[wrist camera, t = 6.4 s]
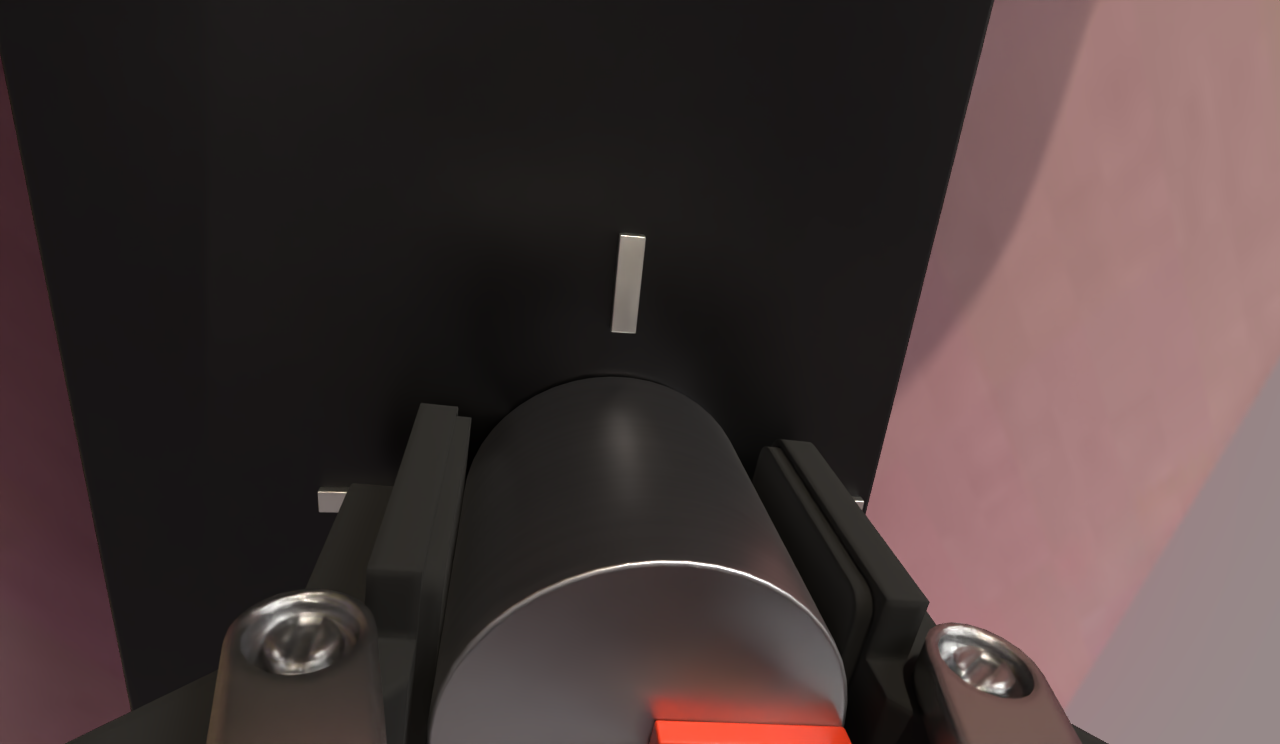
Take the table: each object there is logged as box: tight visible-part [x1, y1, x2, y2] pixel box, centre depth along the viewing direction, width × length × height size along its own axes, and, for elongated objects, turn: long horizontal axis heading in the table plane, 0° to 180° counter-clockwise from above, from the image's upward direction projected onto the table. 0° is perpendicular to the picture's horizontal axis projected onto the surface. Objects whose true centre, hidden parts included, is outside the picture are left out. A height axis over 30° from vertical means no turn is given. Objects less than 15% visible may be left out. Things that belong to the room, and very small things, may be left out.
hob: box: [0, 0, 994, 712], centre depth 12 cm, size 14×12×3 cm
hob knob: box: [427, 377, 852, 744], centre depth 10 cm, size 4×4×5 cm
